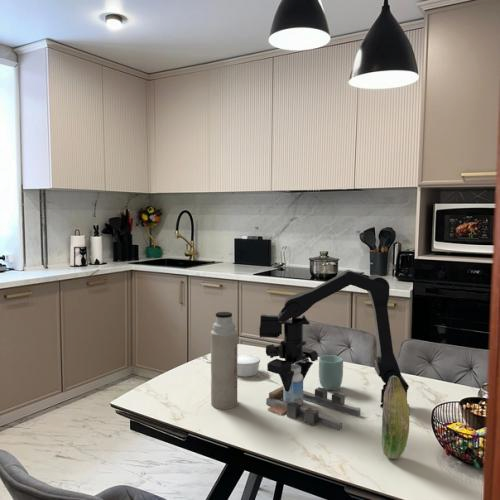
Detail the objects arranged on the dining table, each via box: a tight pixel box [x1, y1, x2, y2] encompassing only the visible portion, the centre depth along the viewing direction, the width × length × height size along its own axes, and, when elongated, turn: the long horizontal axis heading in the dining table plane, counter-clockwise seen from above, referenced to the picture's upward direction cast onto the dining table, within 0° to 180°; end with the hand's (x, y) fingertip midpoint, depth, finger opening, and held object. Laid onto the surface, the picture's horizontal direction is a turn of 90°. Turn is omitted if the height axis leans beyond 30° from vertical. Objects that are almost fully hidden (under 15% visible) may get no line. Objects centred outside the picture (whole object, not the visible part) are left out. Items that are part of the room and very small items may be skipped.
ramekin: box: [237, 353, 261, 378], centre depth 165 cm, size 11×11×5 cm
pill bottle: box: [282, 364, 304, 406], centre depth 138 cm, size 6×6×11 cm
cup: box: [318, 354, 344, 391], centre depth 150 cm, size 8×8×10 cm
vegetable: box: [381, 376, 410, 460], centre depth 107 cm, size 6×6×20 cm
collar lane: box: [265, 385, 362, 431], centre depth 134 cm, size 25×18×4 cm
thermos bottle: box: [210, 311, 238, 410], centre depth 137 cm, size 8×8×28 cm
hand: (293, 388), depth 138 cm, fingers closed on pill bottle, 6 cm apart
